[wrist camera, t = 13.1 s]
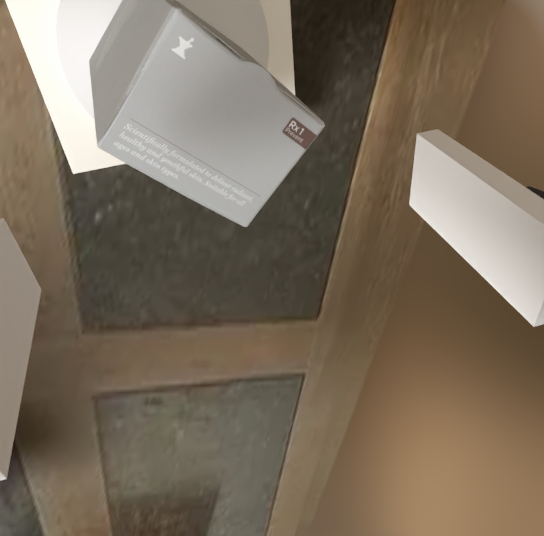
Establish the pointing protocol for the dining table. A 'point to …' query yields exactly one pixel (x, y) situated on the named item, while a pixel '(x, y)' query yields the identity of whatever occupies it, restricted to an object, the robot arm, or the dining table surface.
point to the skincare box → (195, 109)
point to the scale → (88, 32)
